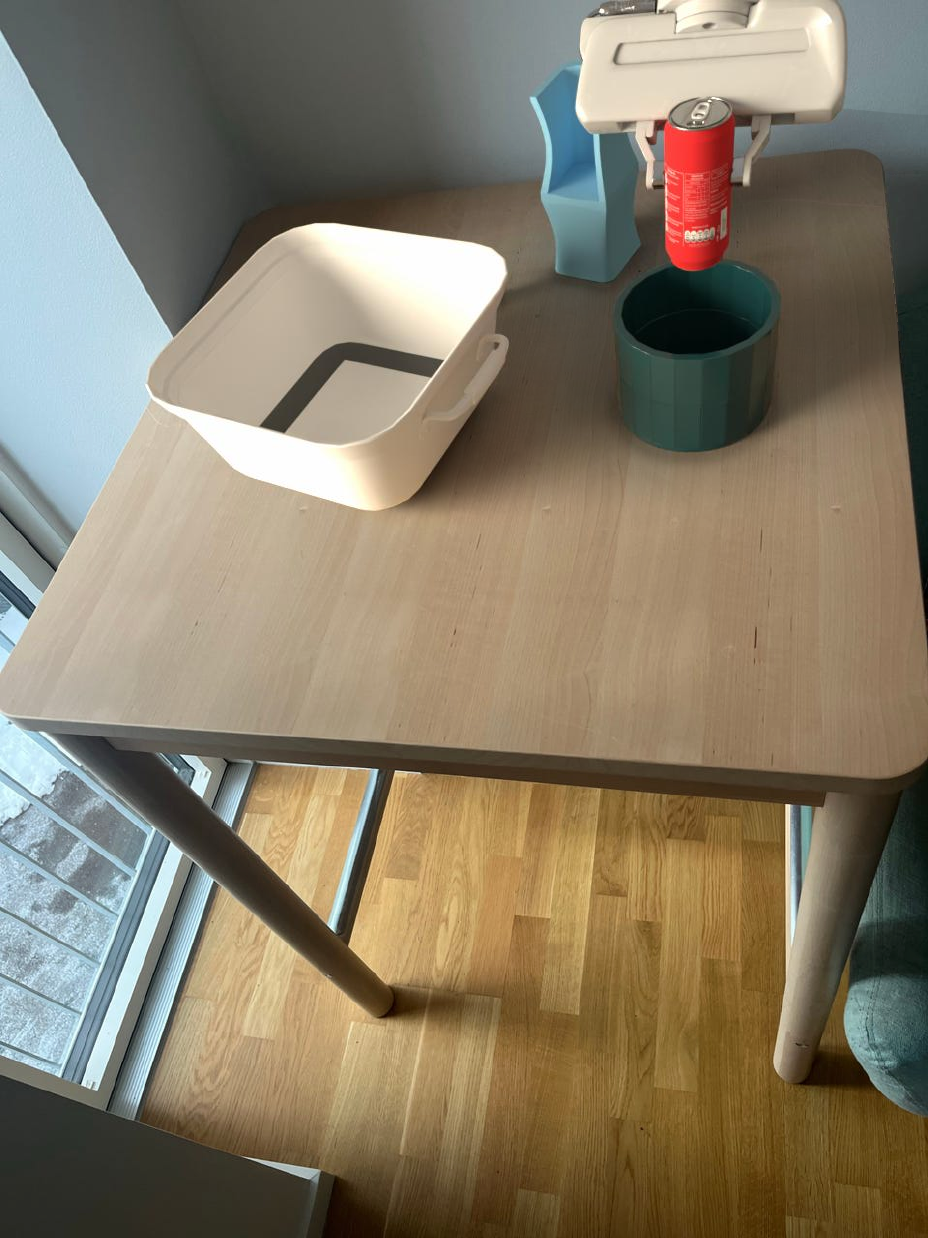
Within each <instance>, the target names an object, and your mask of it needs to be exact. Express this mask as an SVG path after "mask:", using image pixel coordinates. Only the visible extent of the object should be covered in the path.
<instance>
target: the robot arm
mask: <svg viewBox="0 0 928 1238" xmlns="http://www.w3.org/2000/svg"><path fill="white" fill-rule="evenodd" d="M838 1H839V0H623V1H618V0H608V1H604V2H602V3H600V6H599V8H596V9H594V10H592V11H591V12H590V13H589V14H588V15H587V16H586V17H585V18H584V19H583V21H582V23H581V27H580V33H579V46H578V47H579V48H578V51H579V52H578V53H579V56H580V59H581V61H583V62H582V67H581V72H580V77H579V83H578V89H577V97H576V114H577V117H578V119H579V121H580V123H581V124H582V125H583V127H584V128H585V129H586V130H587V131H588V132H589V133H590V134H607V133H627V134H628V133H635V140H636V142H637V144H638V147H639V149H640V151H641V153H642V155H643V157H644V160H645V163H646V164H647V165H646V177H645V186H646V189H647V191H650V190H651V191H654V190H655V191H656V190H665V160H657V159H656V157H655V155H654V153H653V150H652V148H651V146H655V145H657V141H658V132H664V127H665V124H666V122H667V116H668V113H669V111H670V110H671V109H672V108H673V107H674V106H675V105H677V104H678V103H680V102H683V101H685V100H688V99H692V98H697V97H701V98H698V99H710V98H707V97H717V98H721V99H724V100H726V101H727V102H728V103H730V105H731V107H732V114H733V115H734V118H735V128H742V127H743V128H747V127H748V128H750V135H751V137H750V138H751V140H752V142H751V144H750V145H749V147H748V149H747V150H746V152H745V153H744V155H743V156H741V157H733V163H732V172H731V177H730V185H731V187H732V188H750V187H751V183H752V182H751V181H752V172H753V164H755V163H756V161H757V160H758V159H759V157H760V155H761V154H762V153H763V151H764V149H765V148H766V147H767V145H768V143H769V142H770V141H771V133H772V126H787V125H808V124H809V125H811V124H828V123H830V122H832V121H833V120H834V119H835V118H836V117H837V116H838V114H839V113H840V112H841V111H842V109H843V107H844V104H845V97H846V90H847V80H848V79H847V78H848V58H849V57H848V52H849V51H848V50H849V49H848V45H849V44H848V27H847V25H848V24H847V19H846V15H845V12H844V9H843V7H842V5H841V4H840V2H838ZM698 99H696V100H698Z"/></svg>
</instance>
